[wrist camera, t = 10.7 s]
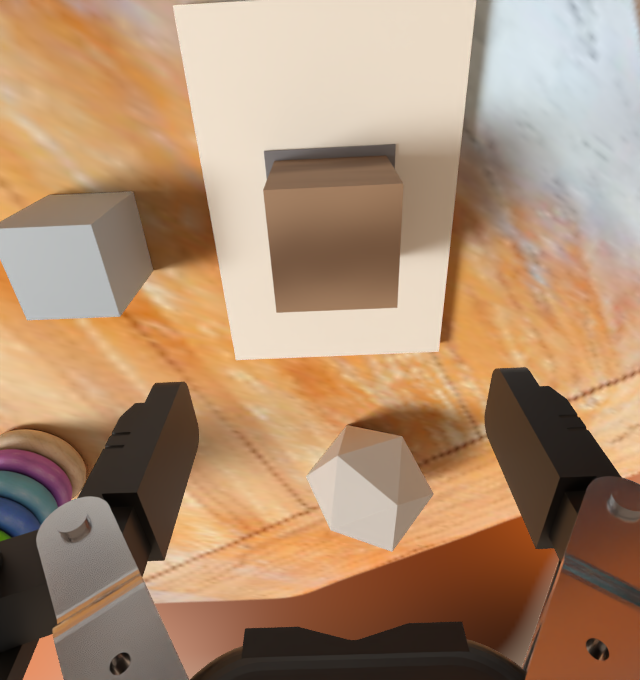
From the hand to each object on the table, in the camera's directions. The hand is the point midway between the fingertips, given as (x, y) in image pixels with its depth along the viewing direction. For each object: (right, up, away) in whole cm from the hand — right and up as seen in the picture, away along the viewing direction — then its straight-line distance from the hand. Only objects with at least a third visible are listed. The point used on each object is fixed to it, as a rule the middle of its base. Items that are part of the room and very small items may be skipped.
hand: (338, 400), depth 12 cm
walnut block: (0, +9, +14) cm, 17 cm away
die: (+3, -7, +26) cm, 27 cm away
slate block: (-14, +8, +16) cm, 23 cm away
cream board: (0, +9, +15) cm, 18 cm away
